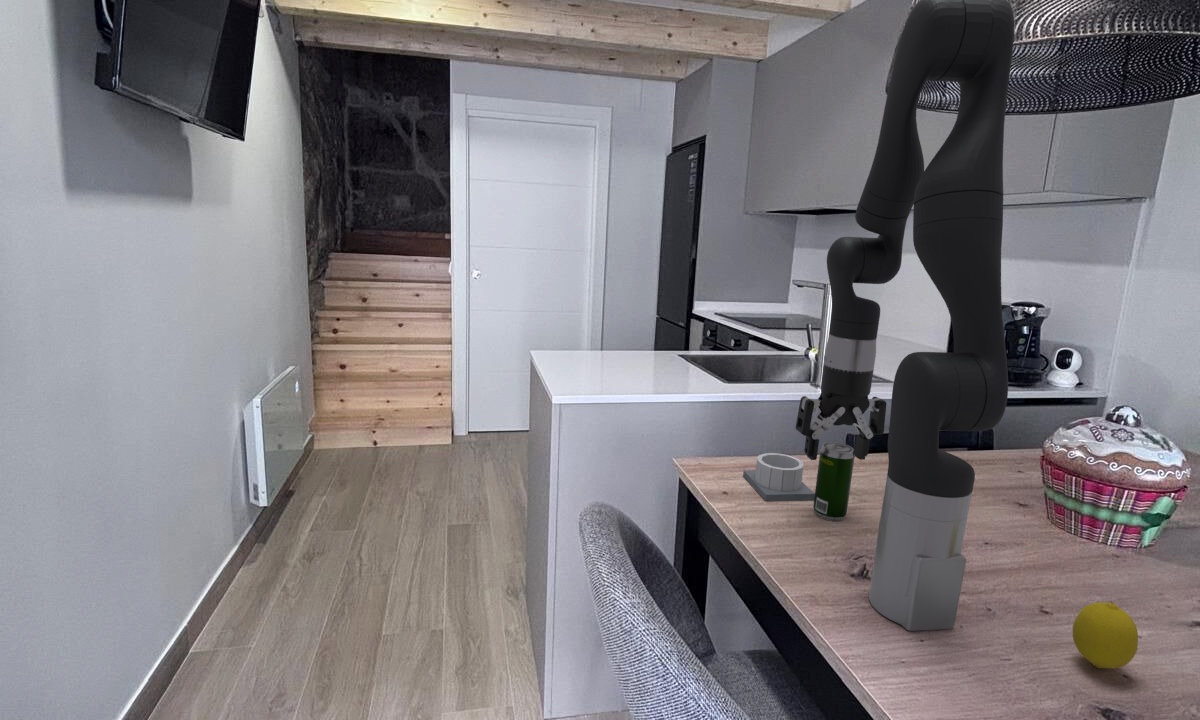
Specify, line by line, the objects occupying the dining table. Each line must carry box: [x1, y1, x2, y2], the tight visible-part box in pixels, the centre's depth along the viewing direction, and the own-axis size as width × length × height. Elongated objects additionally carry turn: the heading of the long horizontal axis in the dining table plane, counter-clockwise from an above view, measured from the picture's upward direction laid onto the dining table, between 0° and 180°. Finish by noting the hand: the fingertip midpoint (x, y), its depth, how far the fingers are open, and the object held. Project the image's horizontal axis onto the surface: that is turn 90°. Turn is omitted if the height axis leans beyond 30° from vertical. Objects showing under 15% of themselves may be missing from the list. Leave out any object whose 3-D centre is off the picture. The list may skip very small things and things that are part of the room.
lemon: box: [1072, 601, 1139, 669], centre depth 68 cm, size 6×6×8 cm
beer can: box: [812, 441, 856, 522], centre depth 102 cm, size 5×5×12 cm
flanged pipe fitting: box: [742, 452, 815, 502], centre depth 113 cm, size 11×9×5 cm
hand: (835, 458), depth 102 cm, fingers open, 8 cm apart
